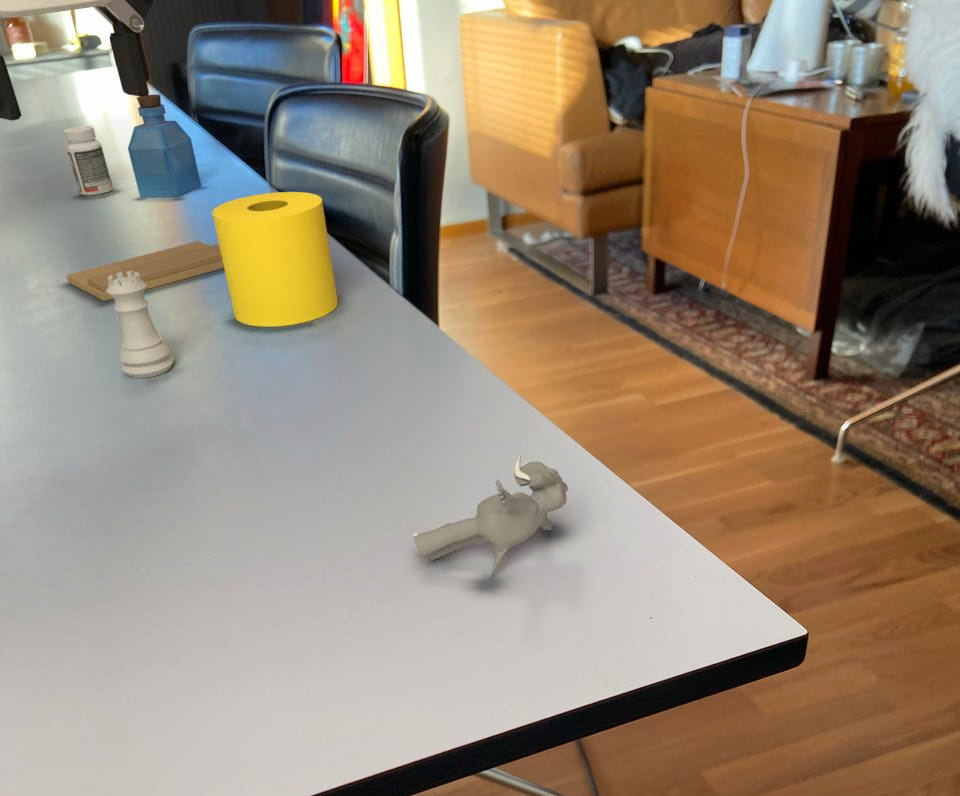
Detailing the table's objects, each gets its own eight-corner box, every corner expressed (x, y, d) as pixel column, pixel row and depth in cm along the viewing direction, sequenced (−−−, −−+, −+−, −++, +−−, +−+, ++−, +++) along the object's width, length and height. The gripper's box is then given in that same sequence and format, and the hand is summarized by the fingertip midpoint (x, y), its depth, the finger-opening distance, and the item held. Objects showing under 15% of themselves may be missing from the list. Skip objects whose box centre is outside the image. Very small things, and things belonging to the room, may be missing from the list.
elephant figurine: (439, 516, 64) (573, 465, 61) (464, 606, 63) (601, 558, 61) (372, 485, 55) (527, 423, 52) (401, 590, 54) (560, 533, 51)
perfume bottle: (177, 197, 141) (155, 100, 134) (140, 196, 143) (115, 101, 136) (201, 185, 145) (180, 91, 138) (164, 185, 147) (142, 93, 140)
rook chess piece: (171, 356, 90) (147, 264, 85) (178, 372, 87) (153, 278, 82) (120, 366, 89) (93, 273, 84) (125, 383, 86) (97, 288, 81)
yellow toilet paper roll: (234, 332, 94) (211, 226, 88) (234, 299, 102) (213, 200, 96) (342, 317, 95) (325, 211, 90) (333, 286, 103) (318, 187, 98)
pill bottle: (120, 188, 148) (103, 125, 143) (96, 196, 145) (78, 132, 140) (96, 187, 150) (78, 124, 145) (72, 195, 146) (54, 131, 141)
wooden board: (104, 301, 105) (100, 287, 104) (68, 282, 111) (64, 269, 110) (241, 263, 112) (238, 250, 111) (200, 247, 119) (197, 235, 118)
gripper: (95, -194, 70) (161, 83, 81) (-172, -185, 62) (-62, 124, 72) (142, -208, 66) (205, 89, 76) (-141, -200, 57) (-27, 133, 67)
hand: (75, 106), depth 74 cm, fingers open, 9 cm apart
